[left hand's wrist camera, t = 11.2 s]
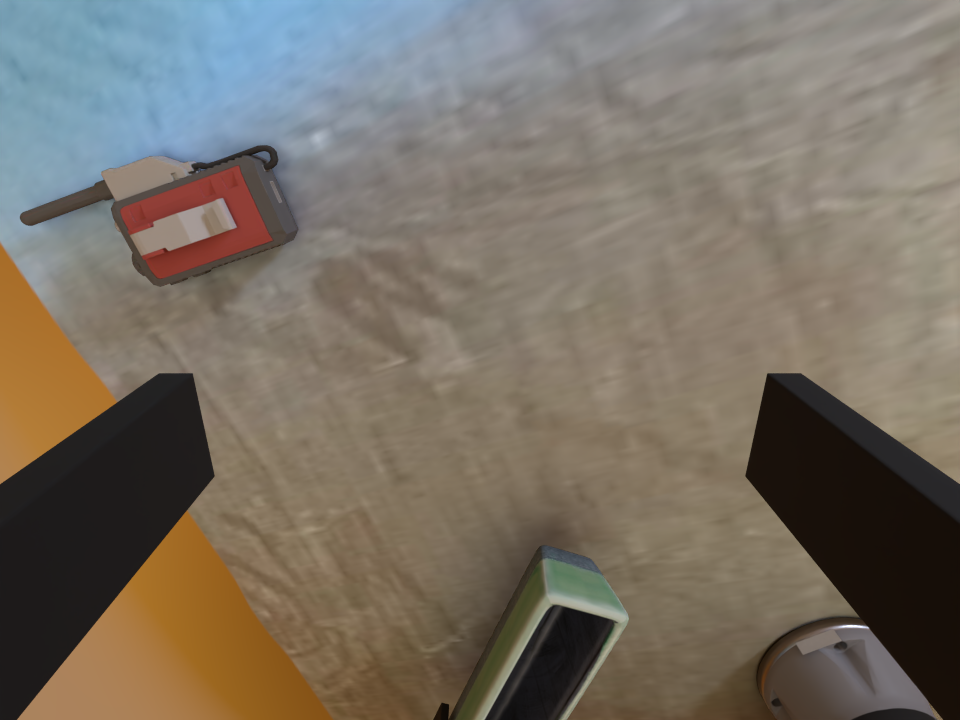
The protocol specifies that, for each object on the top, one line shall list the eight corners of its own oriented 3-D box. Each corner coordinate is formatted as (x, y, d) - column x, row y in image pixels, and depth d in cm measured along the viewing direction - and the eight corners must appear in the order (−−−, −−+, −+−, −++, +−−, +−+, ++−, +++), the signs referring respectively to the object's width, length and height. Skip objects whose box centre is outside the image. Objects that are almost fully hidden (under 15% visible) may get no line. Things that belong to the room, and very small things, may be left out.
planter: (534, 527, 45) (545, 593, 39) (611, 550, 46) (634, 618, 40) (431, 729, 55) (425, 811, 48) (496, 744, 56) (500, 826, 49)
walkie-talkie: (266, 115, 38) (28, 204, 41) (241, 111, 34) (-23, 210, 37) (317, 234, 41) (93, 310, 44) (299, 243, 37) (52, 327, 40)
